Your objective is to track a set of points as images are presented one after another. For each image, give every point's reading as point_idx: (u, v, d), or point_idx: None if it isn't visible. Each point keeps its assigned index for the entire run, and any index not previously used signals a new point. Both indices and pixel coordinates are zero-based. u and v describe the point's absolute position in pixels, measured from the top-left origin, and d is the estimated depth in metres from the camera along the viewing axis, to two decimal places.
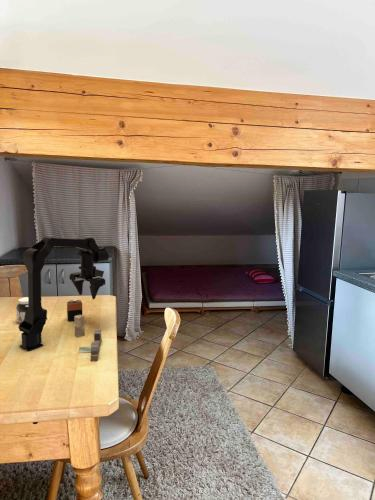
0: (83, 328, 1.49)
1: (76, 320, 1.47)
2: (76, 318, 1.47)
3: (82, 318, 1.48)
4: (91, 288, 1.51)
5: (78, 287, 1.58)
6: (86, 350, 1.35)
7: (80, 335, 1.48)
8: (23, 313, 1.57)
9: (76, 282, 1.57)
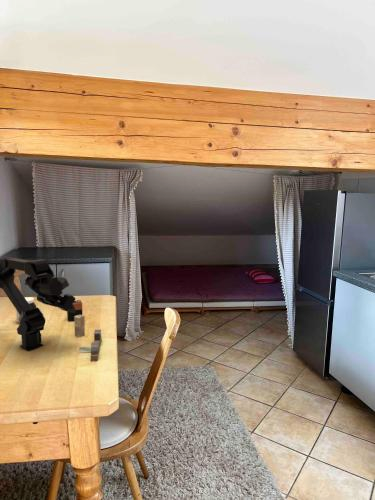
0: (83, 328, 1.49)
1: (76, 320, 1.47)
2: (76, 318, 1.47)
3: (82, 318, 1.48)
4: (64, 310, 1.34)
5: (53, 304, 1.42)
6: (86, 350, 1.35)
7: (80, 335, 1.48)
8: None
9: (48, 303, 1.40)
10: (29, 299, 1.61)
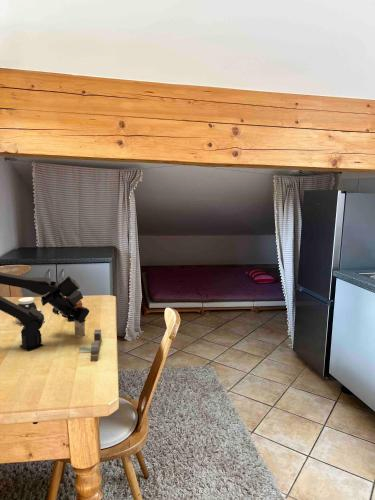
0: (83, 328, 1.49)
1: None
2: None
3: None
4: (74, 320, 1.43)
5: (72, 317, 1.47)
6: (86, 350, 1.35)
7: (80, 335, 1.48)
8: None
9: (67, 316, 1.45)
10: (29, 299, 1.61)
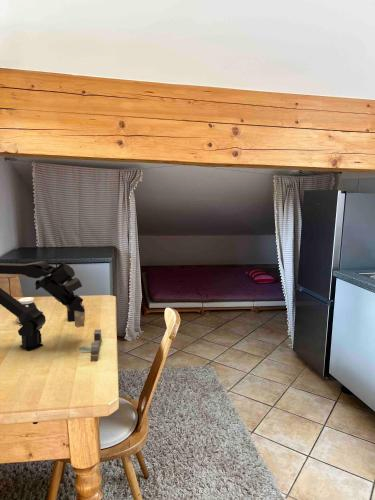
0: (82, 318, 1.42)
1: None
2: None
3: None
4: None
5: None
6: (86, 350, 1.35)
7: (79, 325, 1.41)
8: None
9: (66, 304, 1.40)
10: (29, 299, 1.61)
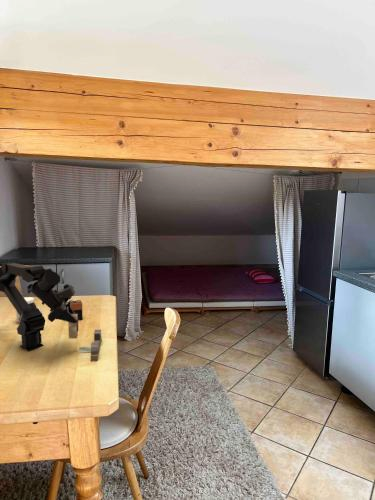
0: (74, 330, 1.32)
1: None
2: None
3: None
4: None
5: None
6: (86, 350, 1.35)
7: (70, 336, 1.32)
8: None
9: None
10: (29, 299, 1.61)
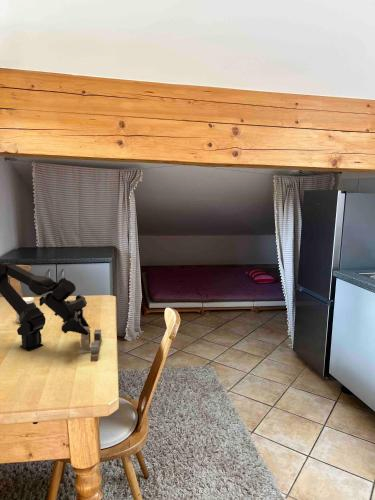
0: (87, 342, 1.34)
1: None
2: None
3: None
4: None
5: None
6: None
7: (83, 349, 1.34)
8: None
9: None
10: (29, 299, 1.61)
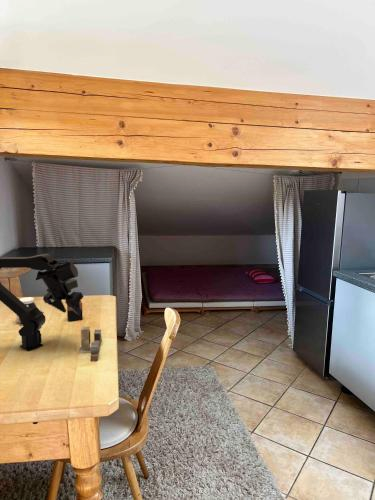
0: (87, 342, 1.34)
1: None
2: (81, 329, 1.34)
3: (86, 331, 1.33)
4: (70, 308, 1.34)
5: (58, 307, 1.41)
6: None
7: (83, 349, 1.34)
8: None
9: (53, 303, 1.40)
10: (29, 299, 1.61)
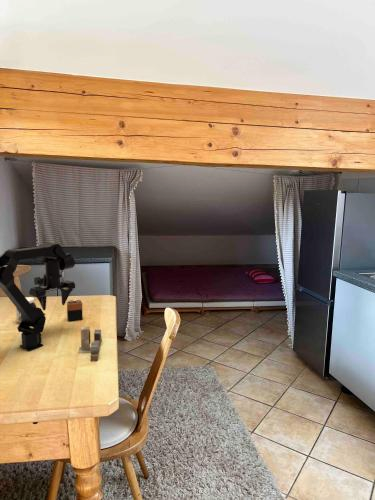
0: (87, 342, 1.34)
1: None
2: (81, 329, 1.34)
3: (86, 331, 1.33)
4: (69, 292, 1.49)
5: None
6: None
7: (83, 349, 1.34)
8: None
9: None
10: (29, 299, 1.61)
